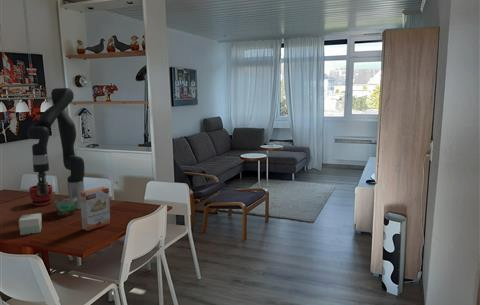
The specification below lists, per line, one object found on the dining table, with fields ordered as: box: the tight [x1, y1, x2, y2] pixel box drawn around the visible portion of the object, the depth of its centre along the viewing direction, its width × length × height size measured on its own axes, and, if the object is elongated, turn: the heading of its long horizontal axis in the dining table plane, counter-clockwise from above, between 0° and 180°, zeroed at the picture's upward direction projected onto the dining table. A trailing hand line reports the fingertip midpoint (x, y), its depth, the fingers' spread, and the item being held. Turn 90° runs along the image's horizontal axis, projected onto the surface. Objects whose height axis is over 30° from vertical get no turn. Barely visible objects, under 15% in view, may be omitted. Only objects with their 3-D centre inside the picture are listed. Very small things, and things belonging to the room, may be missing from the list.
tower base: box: [19, 222, 43, 236], centre depth 191 cm, size 9×9×4 cm
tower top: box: [18, 212, 43, 229], centre depth 190 cm, size 9×9×4 cm
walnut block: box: [36, 181, 49, 195], centre depth 199 cm, size 5×5×6 cm
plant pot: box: [28, 184, 53, 207], centre depth 236 cm, size 13×13×12 cm
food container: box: [53, 197, 77, 218], centre depth 214 cm, size 12×6×10 cm, turn 117°
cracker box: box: [80, 186, 111, 232], centre depth 195 cm, size 14×6×21 cm, turn 145°
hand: (43, 192), depth 200 cm, fingers closed on walnut block, 5 cm apart
